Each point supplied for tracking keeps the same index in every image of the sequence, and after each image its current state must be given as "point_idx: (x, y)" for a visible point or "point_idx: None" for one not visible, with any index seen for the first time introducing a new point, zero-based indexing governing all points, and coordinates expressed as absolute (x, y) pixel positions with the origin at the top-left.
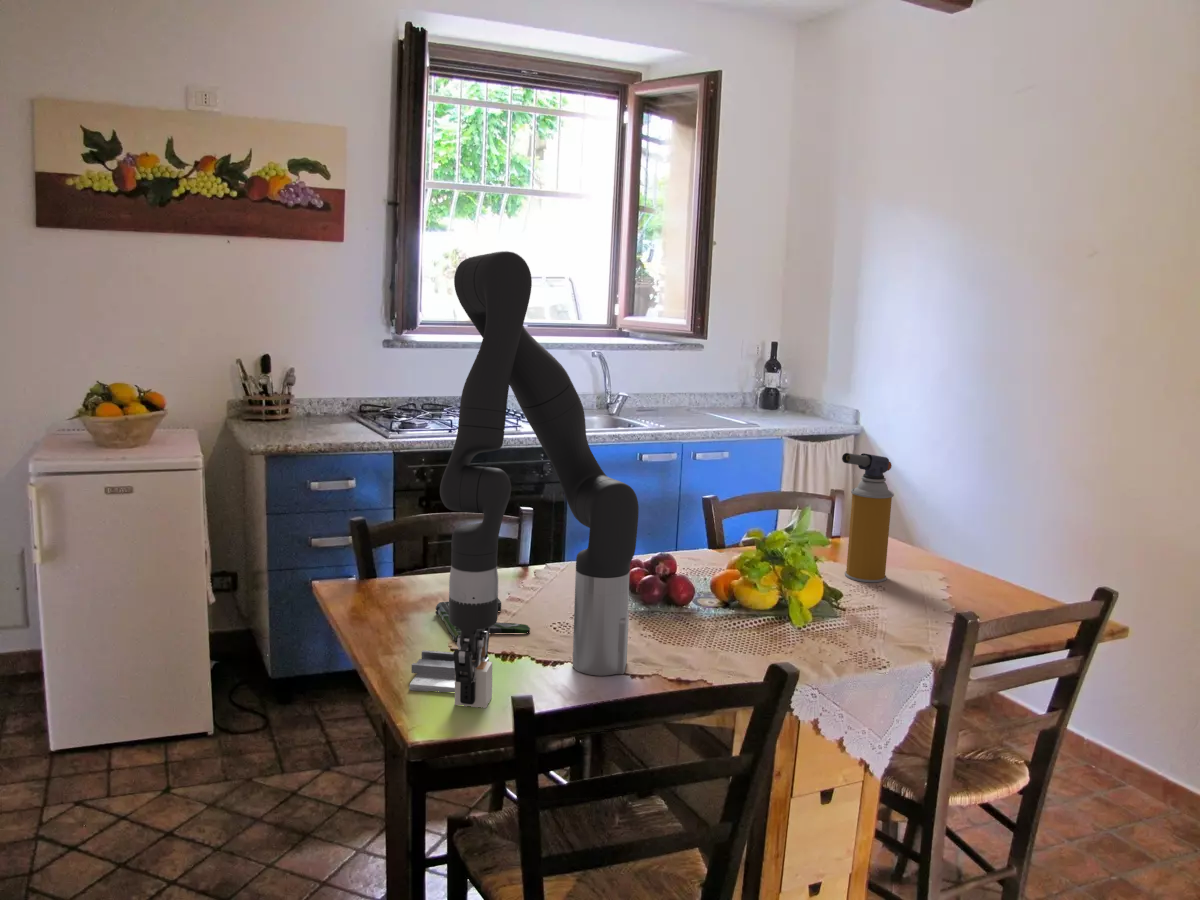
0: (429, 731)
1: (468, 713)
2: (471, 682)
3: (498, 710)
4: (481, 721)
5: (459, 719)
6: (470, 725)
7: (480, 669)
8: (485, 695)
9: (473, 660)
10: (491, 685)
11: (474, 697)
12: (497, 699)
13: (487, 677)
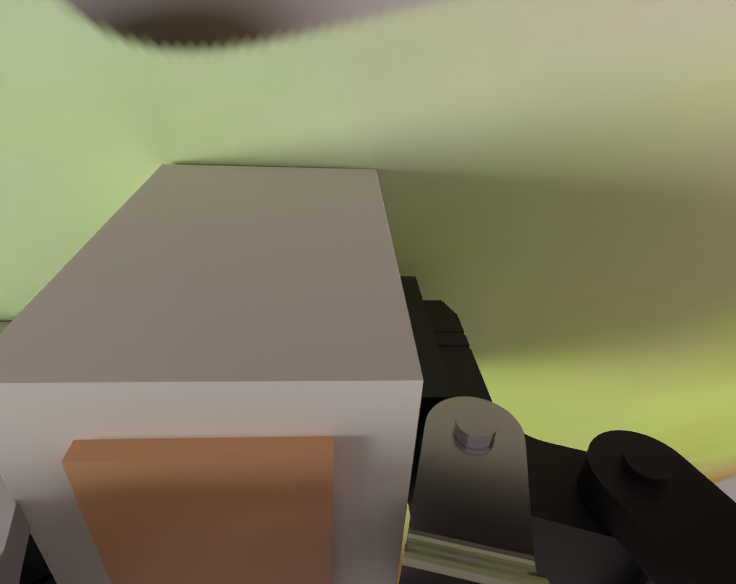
0: (724, 405)
1: (480, 269)
2: (667, 447)
3: (403, 50)
4: (623, 153)
5: (577, 301)
6: (683, 216)
7: (346, 465)
8: (383, 217)
9: (62, 581)
10: (149, 210)
11: (413, 296)
12: (174, 108)
13: (337, 304)
